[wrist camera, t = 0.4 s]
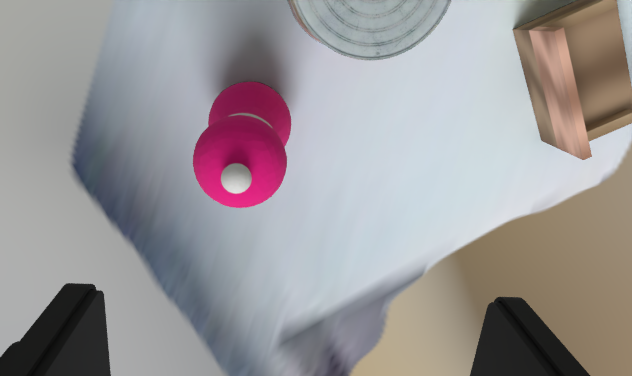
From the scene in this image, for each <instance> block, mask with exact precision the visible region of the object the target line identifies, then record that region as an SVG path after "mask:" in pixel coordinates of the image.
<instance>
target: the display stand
mask: <svg viewBox="0 0 632 376" xmlns="http://www.w3.org/2000/svg"><path fill="white" fill-rule="evenodd" d="M513 33H514V36H515V40H516V44H517V48H518V52H519V56H520V60H521V63H522V67H523V71H524V75H525V79H526V83H527V86H528V90H529V94H530V98H531V102H532V106H533V110H534V113H535V117H536V121H537V125H538V129H539V133H540V137H541V140H542V141H543V142H546V143H548V144H550V145H552V146H554V147H556V148H558V149H561V150H563V151H565V152H567V153H569V154H571V155H573V156H576V157H578V158H580V159H582V160H585V159H587V158H589V157H592V155H591V150H590V146H589V141H591V140H593V139H596V138H598V137H600V136H603V135H605V134H607V133H610V132H612V131H614V130H617V129H619V128H621V127H624V126H626V125H628V124H631V123H632V87H631V82H630V76H629V70H628V64H627V59H626V53H625V47H624V41H623V36H622V30H621V24H620V18H619V13H618V7H617V1H616V0H577V1H575V2H573V3H571V4H568V5H566V6H564V7H562V8H559V9H557V10H555V11H553V12H551V13H548V14H546V15H544V16H542V17H540V18H537V19H535V20H533V21H531V22H529V23H526V24H524V25H522V26H520V27H518V28H515V29H513Z"/></svg>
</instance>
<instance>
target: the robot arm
mask: <svg viewBox="0 0 632 376" xmlns="http://www.w3.org/2000/svg"><path fill="white" fill-rule="evenodd" d="M106 327H107V326H106V314H105V302H104V294H103V292H102V291H96V287H95V285H93V284H73V283H71V284H70V283H68V284H66V285H64V286H63V288H62V289H61V290H60V291H59V293H58V294H57V295H56V296H55V298H54V299H53V300H52V302H51V303H50V304H49V305H48V306H47V308H46V309H45V310H44V311H43V313H42V314H41V315H40V317H39V318H38V319H37V320H36V321H35V323H34V324H33V325H32V326H31V328H30V329H29V330H28V331H27V333H26V334H25V335H24V337H23V338H22V339H21V340H20V341H18V342H15V343H13V344H12V345H11V346H10V347H9V348H8V349H7V350H6V351H5V352H4V354H3V355H2V356H1V357H0V376H111V374H110V362H109V351H108V338H107V328H106ZM470 376H590V375H589V374H588V373H587V371H586V370H585V369H584V368H583V367H582V366H581V365H580V364H579V362H578V361H577V360H576V359H575V358H574V357H573V356H572V354H571V353H570V352H569V351H568V350H567V348H566V347H565V346H564V345H563V344H562V343H561V342H560V340H559V339H558V338H557V337H556V336H555V335H554V334H553V332H552V331H551V330H550V329H549V328H548V327H547V326H546V324H545V323H544V322H543V321H542V320H541V319H540V317H539V316H538V315H537V314H536V313H535V312H534V311H533V309H532V308H531V307H530V306H529V305H528V304H527V303H526V301H525V300H523V299H522V298H518V297H498V298H496V299H495V301H494V302H492V303H490V304H489V305H488V308H487V311H486V315H485V319H484V323H483V327H482V331H481V335H480V338H479V342H478V346H477V350H476V354H475V358H474V362H473V366H472V370H471V374H470Z"/></svg>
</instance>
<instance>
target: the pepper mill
mask: <svg viewBox="0 0 632 376" xmlns="http://www.w3.org/2000/svg"><path fill="white" fill-rule="evenodd" d="M208 124H209V127H208V128H207V129H206V130H205V131H204V132H203V133H202V134H201V136H200V138H199V140H198V141H197V143H196V147H195V150H194V155H193V167H194V172H195V175H196V179H197V181H198V182H199V184H200V186H201V188H202V189H203V190H204V192H205V193H206V194H207V195H209V196H210V197H211V198H212V199H213V200H215V201H217V202H219V203H221V204H223V205H226V206H229V207H236V208H243V207H251V206H255V205H257V204H259V203H262V202H264V201H265V200H267V199H268V198H270V197H271V196H272V195H273V194H274V193H275V192H276V191H277V189H278V188H279V187H280V185H281V183H282V181H283V178H284V175H285V172H286V167H287V156H286V152H285V148H284V147H285V145H286V143H287V141H288V139H289V135H290V131H291V116H290V112H289V109H288V107H287V105H286V103H285V101H284V100H283V99H282V97H281V96H280V95H279V94H278V93H277V92H276V91H274V90H273V89H272V88H270V87H269V86H267V85H265V84H262V83H259V82H242V83H238V84H234V85H232V86H230V87H228V88H226V89H225V90H224V91H222V92H221V93H220V95H219V96H218V97H217V98H216V100H215V101H214V103H213V105H212V108H211V111H210V114H209V122H208Z"/></svg>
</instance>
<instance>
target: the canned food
mask: <svg viewBox="0 0 632 376" xmlns="http://www.w3.org/2000/svg"><path fill="white" fill-rule="evenodd" d="M450 2H451V0H288V3H289V6H290V9H291V11H292V13H293V15H294V17H295V19H296V21H297V22H298V24H299V25H300V26H301V28H302V29H303V30H304V31H305V32H306V33H307V34H308V35H309V36H311V37H312V38H313V39H315V40H316V41H318V42H320V43H322V44H324V45H326V46H327V47H328V48H330V49H332V50H333V51H335V52H337V53H339V54H342V55H344V56H347V57H350V58H355V59H361V60H381V59H386V58H390V57H394V56H397V55H399V54H402V53H404V52H406V51H408V50H410V49H412V48H413V47H415V46H416V45H418V44H419V43H420V42H422V41H423V40H424V39H425V38H426V37H427V36H428V35H429V34H430V33H431V32H432V31H433V30H434V29H435V28H436V26H437V25H438V24H439V22H440V21H441V20H442V18H443V16H444V15H445V13H446V11H447V9H448V7H449V5H450Z"/></svg>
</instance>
